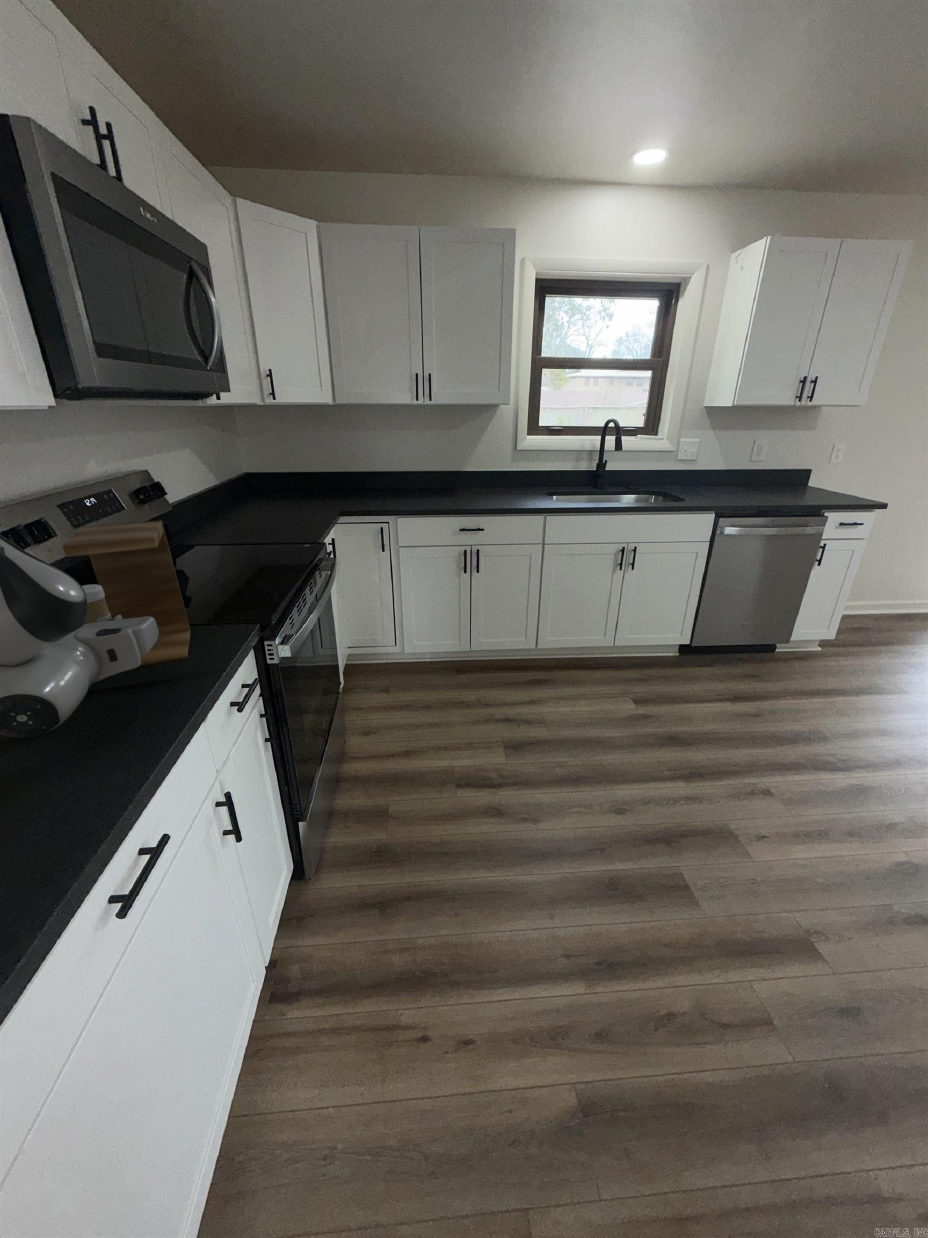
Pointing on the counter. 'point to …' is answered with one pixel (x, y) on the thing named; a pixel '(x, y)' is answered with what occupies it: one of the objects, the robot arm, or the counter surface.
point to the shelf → (138, 580)
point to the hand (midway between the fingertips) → (99, 621)
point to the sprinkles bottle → (96, 604)
